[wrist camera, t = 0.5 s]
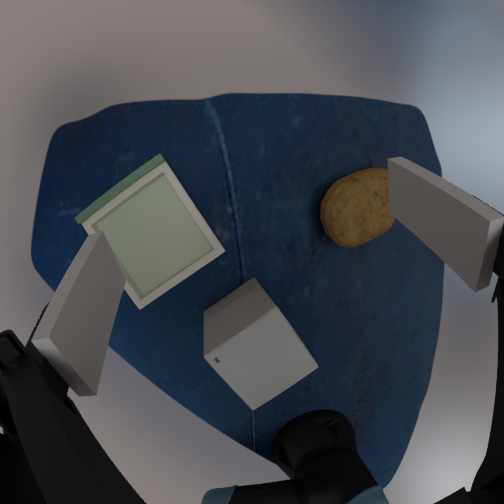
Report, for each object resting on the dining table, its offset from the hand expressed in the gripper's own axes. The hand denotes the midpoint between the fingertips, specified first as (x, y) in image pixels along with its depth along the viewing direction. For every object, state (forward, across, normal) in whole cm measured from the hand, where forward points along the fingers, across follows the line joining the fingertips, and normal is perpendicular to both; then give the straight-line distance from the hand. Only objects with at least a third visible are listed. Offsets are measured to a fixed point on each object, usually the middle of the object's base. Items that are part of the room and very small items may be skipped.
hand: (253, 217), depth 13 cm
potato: (+28, -16, +15) cm, 36 cm away
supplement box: (+22, +3, +25) cm, 34 cm away
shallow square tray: (+27, +12, +11) cm, 32 cm away
